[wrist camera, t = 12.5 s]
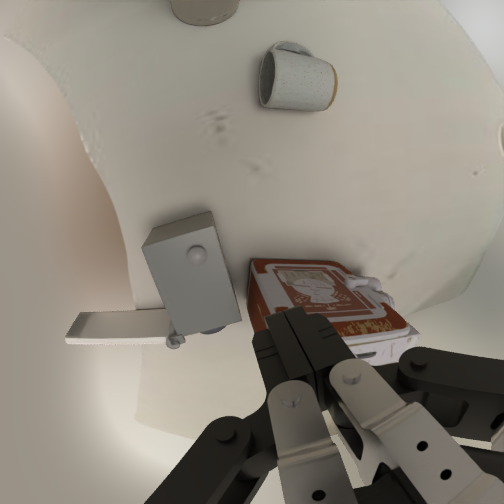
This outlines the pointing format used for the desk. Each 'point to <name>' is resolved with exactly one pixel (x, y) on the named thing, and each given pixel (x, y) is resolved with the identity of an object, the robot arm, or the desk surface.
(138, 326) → the side door
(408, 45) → the desk surface
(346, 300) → the cine camera
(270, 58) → the ceramic mug
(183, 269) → the block
